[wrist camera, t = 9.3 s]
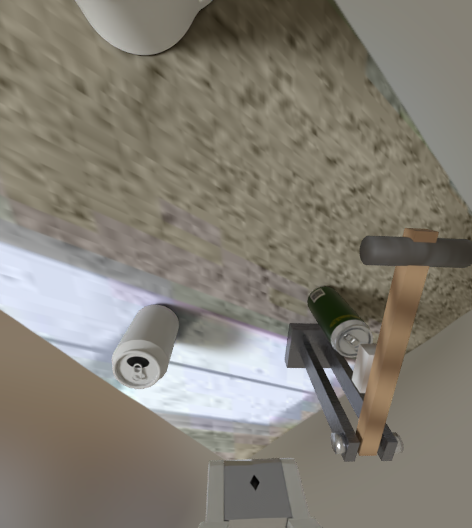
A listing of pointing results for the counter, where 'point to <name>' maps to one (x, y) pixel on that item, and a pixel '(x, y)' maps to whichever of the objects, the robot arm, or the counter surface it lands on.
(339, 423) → the press frame
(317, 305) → the green soda can
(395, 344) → the hammer
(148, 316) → the can
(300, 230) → the counter surface
